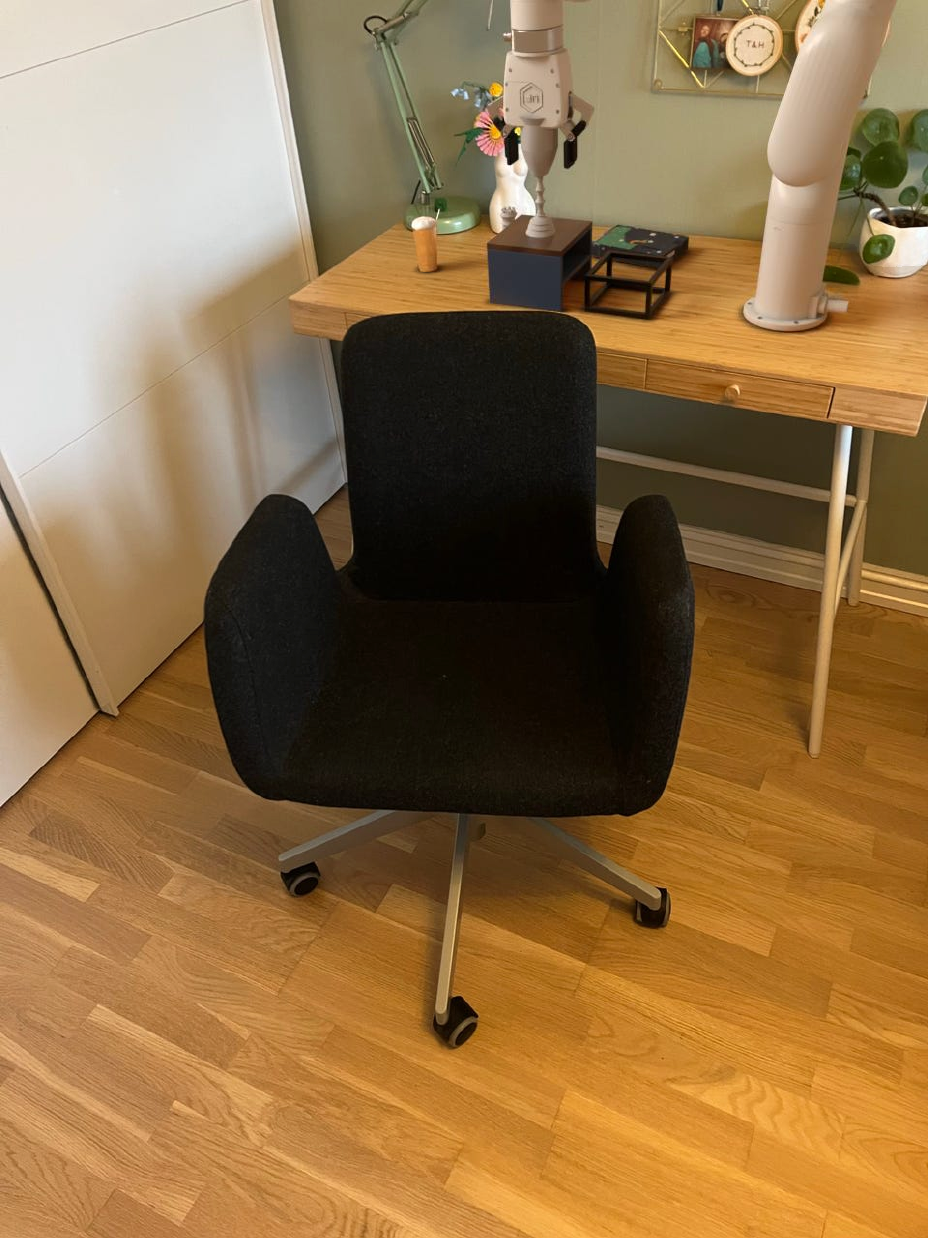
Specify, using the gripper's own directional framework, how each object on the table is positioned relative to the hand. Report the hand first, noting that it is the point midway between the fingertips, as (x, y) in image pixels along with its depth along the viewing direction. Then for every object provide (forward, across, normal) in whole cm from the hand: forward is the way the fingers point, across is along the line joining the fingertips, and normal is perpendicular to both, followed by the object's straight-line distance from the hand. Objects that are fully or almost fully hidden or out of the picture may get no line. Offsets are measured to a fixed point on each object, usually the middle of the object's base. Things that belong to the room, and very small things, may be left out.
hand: (541, 164), depth 152 cm
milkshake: (+20, -24, +4) cm, 32 cm away
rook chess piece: (+20, -13, +14) cm, 28 cm away
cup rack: (+21, +15, 0) cm, 26 cm away
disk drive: (+21, +10, +20) cm, 31 cm away
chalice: (+11, 0, 0) cm, 11 cm away
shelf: (+20, -1, 0) cm, 21 cm away
